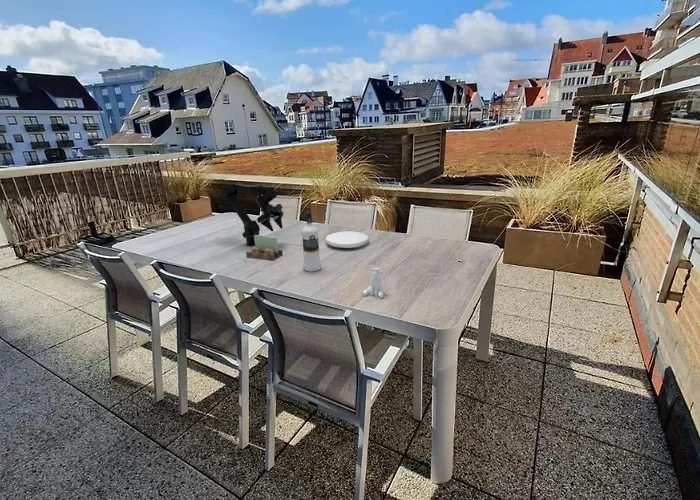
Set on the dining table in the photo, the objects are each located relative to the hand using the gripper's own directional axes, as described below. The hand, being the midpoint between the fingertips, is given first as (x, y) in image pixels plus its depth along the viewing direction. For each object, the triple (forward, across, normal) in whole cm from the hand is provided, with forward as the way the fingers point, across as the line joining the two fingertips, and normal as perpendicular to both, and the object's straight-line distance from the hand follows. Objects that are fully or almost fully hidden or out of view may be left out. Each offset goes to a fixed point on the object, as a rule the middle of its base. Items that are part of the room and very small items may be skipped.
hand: (277, 229), depth 201 cm
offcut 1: (+8, -12, +13) cm, 19 cm away
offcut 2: (+13, -11, +5) cm, 18 cm away
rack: (+11, -10, +10) cm, 18 cm away
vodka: (+29, -15, -18) cm, 37 cm away
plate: (+26, +28, -22) cm, 44 cm away
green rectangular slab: (+10, -7, +9) cm, 15 cm away
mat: (+12, +9, +5) cm, 15 cm away
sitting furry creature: (+50, -30, -52) cm, 78 cm away
